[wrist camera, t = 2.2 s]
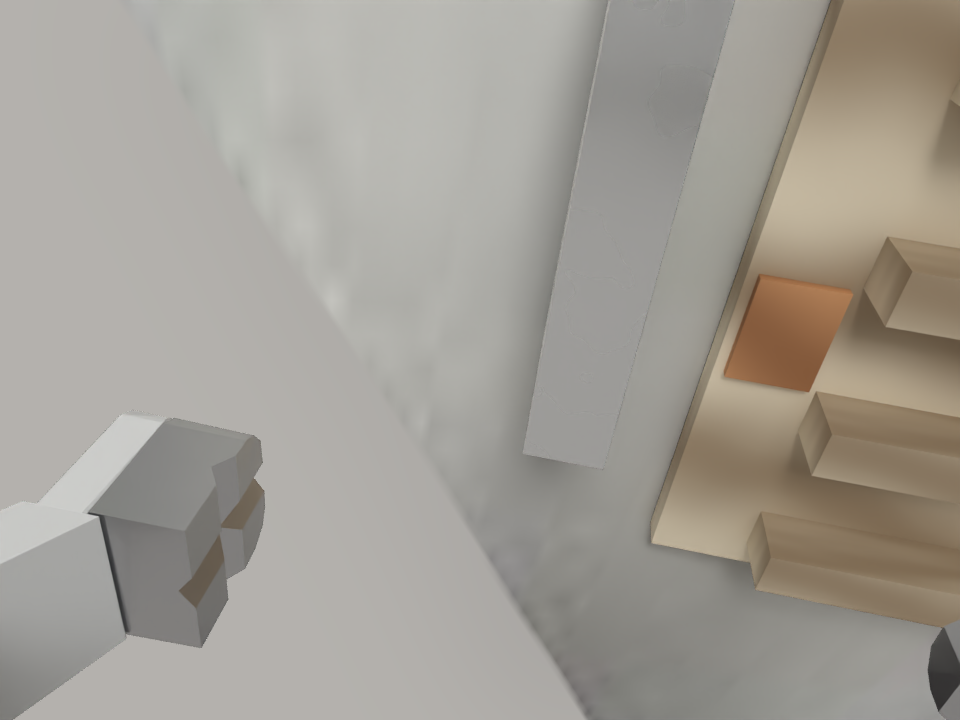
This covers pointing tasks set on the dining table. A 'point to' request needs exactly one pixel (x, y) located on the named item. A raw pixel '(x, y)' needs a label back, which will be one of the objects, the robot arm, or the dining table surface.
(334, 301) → the dining table surface
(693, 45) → the blanking panel
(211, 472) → the robot arm
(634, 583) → the dining table surface
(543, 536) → the dining table surface
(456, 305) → the dining table surface
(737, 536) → the rack
